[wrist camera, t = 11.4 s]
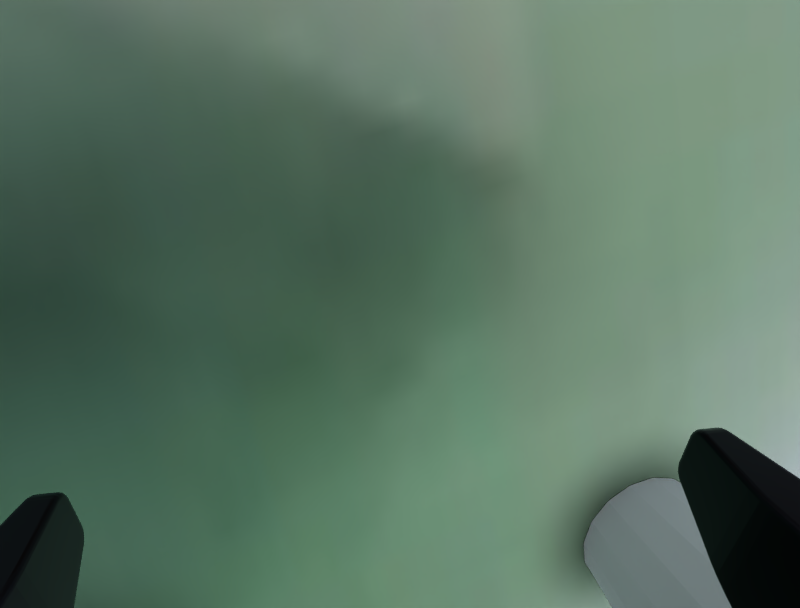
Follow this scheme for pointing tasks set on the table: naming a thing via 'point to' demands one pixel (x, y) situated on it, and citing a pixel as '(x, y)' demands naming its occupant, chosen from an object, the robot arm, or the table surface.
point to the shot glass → (651, 550)
